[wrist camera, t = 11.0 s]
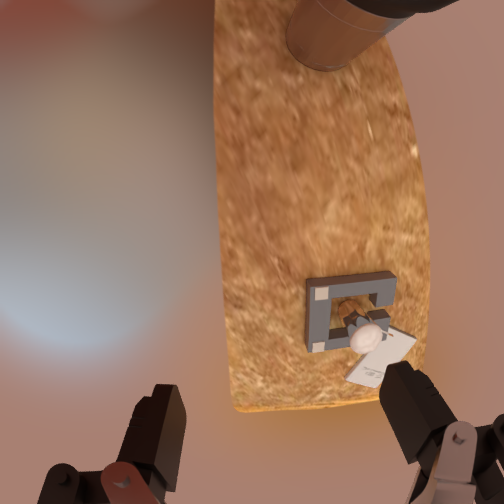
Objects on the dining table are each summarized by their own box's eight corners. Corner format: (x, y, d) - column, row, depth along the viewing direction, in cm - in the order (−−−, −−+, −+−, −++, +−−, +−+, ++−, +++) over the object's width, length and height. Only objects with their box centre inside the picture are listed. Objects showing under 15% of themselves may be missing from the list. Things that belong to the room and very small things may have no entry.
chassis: (306, 279, 39) (310, 288, 36) (389, 270, 39) (398, 278, 36) (304, 342, 42) (308, 353, 40) (380, 331, 43) (386, 341, 40)
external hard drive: (413, 335, 44) (373, 383, 47) (385, 322, 43) (343, 375, 46) (417, 340, 42) (376, 389, 46) (389, 327, 41) (345, 381, 44)
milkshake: (369, 309, 41) (396, 347, 32) (339, 326, 42) (360, 367, 32) (360, 287, 40) (389, 323, 30) (329, 304, 40) (350, 345, 31)
